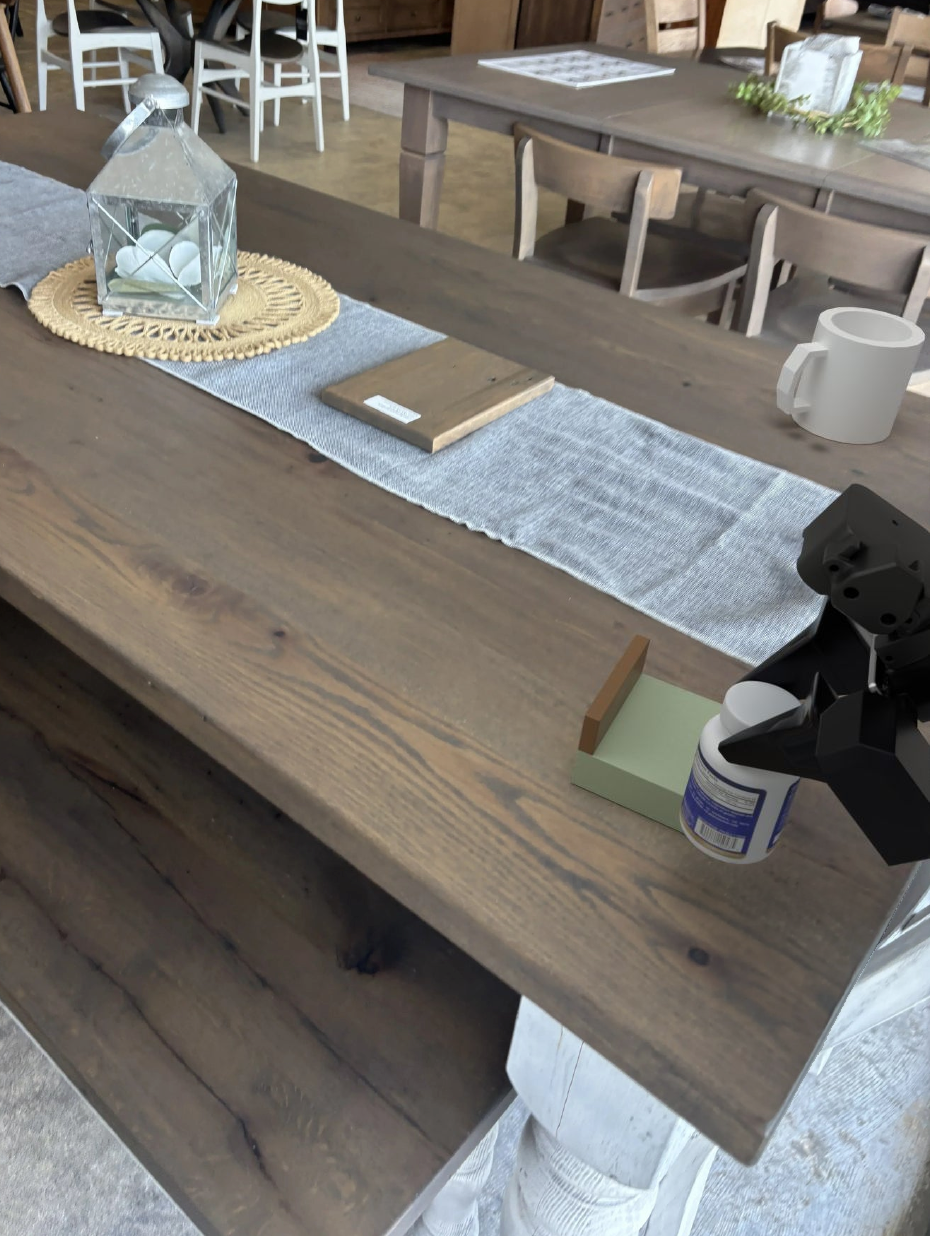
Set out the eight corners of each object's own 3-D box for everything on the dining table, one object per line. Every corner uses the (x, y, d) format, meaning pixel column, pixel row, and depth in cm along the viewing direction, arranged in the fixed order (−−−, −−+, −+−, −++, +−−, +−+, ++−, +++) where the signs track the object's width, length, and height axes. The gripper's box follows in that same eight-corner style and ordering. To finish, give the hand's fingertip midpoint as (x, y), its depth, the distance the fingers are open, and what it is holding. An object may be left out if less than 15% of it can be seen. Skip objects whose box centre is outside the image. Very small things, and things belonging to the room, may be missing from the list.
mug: (804, 453, 100) (835, 355, 94) (745, 408, 108) (770, 314, 102) (911, 437, 104) (948, 342, 98) (847, 394, 112) (877, 303, 106)
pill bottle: (738, 785, 57) (778, 664, 53) (795, 854, 53) (844, 730, 49) (658, 804, 56) (693, 681, 51) (711, 877, 52) (754, 750, 47)
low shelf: (748, 751, 66) (772, 684, 63) (709, 845, 60) (732, 776, 56) (620, 699, 70) (636, 633, 66) (570, 782, 63) (584, 714, 60)
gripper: (955, 375, 47) (676, 513, 57) (964, 591, 33) (590, 726, 42) (1070, 555, 49) (783, 658, 59) (1126, 831, 35) (735, 907, 45)
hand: (729, 722), depth 51 cm, fingers closed on pill bottle, 4 cm apart
